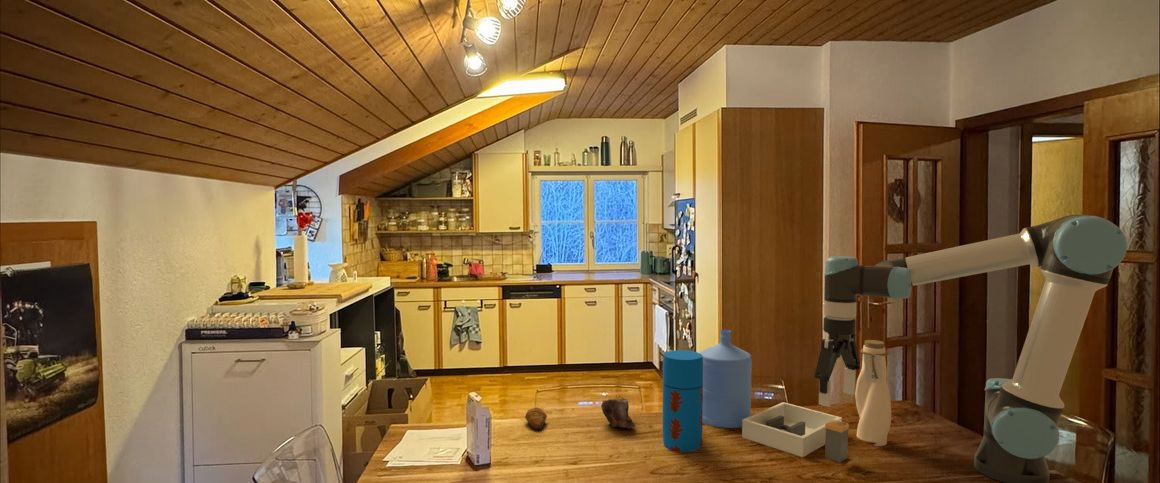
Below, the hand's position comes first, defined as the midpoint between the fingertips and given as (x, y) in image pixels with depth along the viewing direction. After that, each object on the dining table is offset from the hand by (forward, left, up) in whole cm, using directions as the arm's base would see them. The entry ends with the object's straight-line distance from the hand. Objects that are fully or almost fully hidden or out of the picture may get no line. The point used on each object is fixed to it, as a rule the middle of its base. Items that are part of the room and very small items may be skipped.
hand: (837, 399), depth 156 cm
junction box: (+15, -5, -16) cm, 23 cm away
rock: (+56, +23, -17) cm, 63 cm away
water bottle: (-1, -20, -17) cm, 26 cm away
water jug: (+36, -3, -17) cm, 40 cm away
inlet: (+17, -5, -15) cm, 23 cm away
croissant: (+74, +40, -17) cm, 86 cm away
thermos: (+34, +20, -17) cm, 43 cm away
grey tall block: (0, 0, -16) cm, 16 cm away
